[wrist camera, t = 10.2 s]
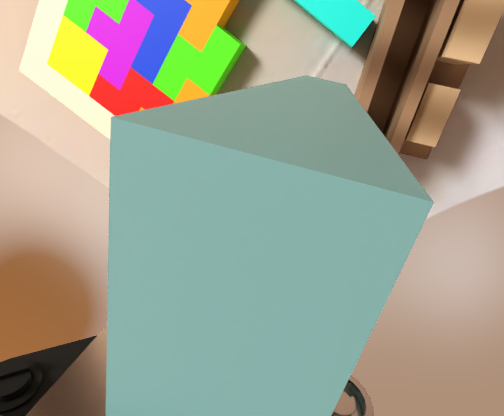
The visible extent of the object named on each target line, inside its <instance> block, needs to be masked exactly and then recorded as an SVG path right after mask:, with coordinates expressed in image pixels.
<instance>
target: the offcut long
mask: <svg viewBox="0 0 504 416" xmlns="http://www.w3.org/2000/svg"><path fill="white" fill-rule="evenodd" d="M503 11H504V0H460V2H459V4H458V7H457V9H456V12H455V14H454V17H453V19H452V22H451V24H450V27H449V29H448V32H447V34H446V37H445V39H444V42H443V44H442V47H441V49H440V52H439V54H438V57H437V59H436V61H440V62H444V63H449V64H454V65H458V64H480V62H481V60H482V58H483V55H484V53H485V51H486V49H487V47H488V44H489V42H490V40H491V38H492V36H493V33H494V31H495V29H496V27H497V25H498V22H499V20H500V18H501V16H502V14H503Z"/></svg>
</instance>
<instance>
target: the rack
mask: <svg viewBox="0 0 504 416" xmlns="http://www.w3.org/2000/svg"><path fill="white" fill-rule="evenodd" d="M459 2H460V0H385V1H384V4H383V7H382V10H381V14H380V17H379V20H378V23H377V26H376V29H375V33H374V36H373V39H372V42H371V45H370V48H369V52H368V55H367V58H366V61H365V64H364V67H363V70H362V74H361V77H360V80H359V83H358V86H357V89H356V93H355V97H356V99H357V100H358V101H359V103H360V104H361V105H362V107H363V108H364V109H365V111H366V112H367V113H368V115H369V116H370V117H371V119H372V120H373V121H374V123H375V124H376V125H377V127H378V128H379V129H380V131H381V132H382V133H383V135H384V136H385V138H386V139H387V140H388V142H389V143H390V144H391V146H392V147H393V148H394V150H395V151H396V152H397V154H399V153H403V154H407V155H412V156H416V157H420V158H424V159H427V158H428V156H429V154H430V152H431V149H432V146H428V145H423V144H419V143H415V142H411V141H407V140H405V137H406V134H407V132H408V129H409V127H410V124H411V122H412V119H413V117H414V114H415V112H416V109H417V107H418V104H419V102H420V99H421V97H422V94H423V92H424V89H425V87H426V84H427V83H432V84H437V85H441V86H446V87H451V88H455V89H458V88H459V86H460V84H461V82H462V79H463V77H464V75H465V72H466V70H467V68H468V66H469V64H458V65H454V64H449V63H444V62H440V61H436V59H437V57H438V54H439V52H440V49H441V47H442V44H443V42H444V39H445V37H446V34H447V32H448V29H449V27H450V24H451V22H452V19H453V17H454V14H455V12H456V9H457V7H458V4H459Z"/></svg>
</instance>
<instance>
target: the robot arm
mask: <svg viewBox="0 0 504 416" xmlns="http://www.w3.org/2000/svg"><path fill="white" fill-rule="evenodd" d="M106 364H107V325H106V327H105V328H104V329H103V330H102V331H101V332H100V333H99V334H98V335H97V336H93V337H90V338H86V339H82V340H78V341H75V342H71V343H67V344H63V345H60V346H56V347H52V348H48V349H45V350H41V351H37V352H33V353H30V354H26V355H22V356H18V357H15V358H11V359H8V360H5V361H3V362H0V416H106ZM331 416H374V410H373V405H372V402H371V398H370V396H369V395H368V393H367V391H366V389H365V388H364V387H363V386H362V385H361V384H360V382H359V381H358V380H357V379H355V378H354V377H352V376H350V378H349V380H348V382H347V384H346V386H345V388H344V390H343V392H342V394H341V396H340V399H339V401H338V403H337V405H336V407H335V409H334V411H333V413H332V415H331Z"/></svg>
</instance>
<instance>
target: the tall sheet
mask: <svg viewBox="0 0 504 416" xmlns="http://www.w3.org/2000/svg"><path fill="white" fill-rule="evenodd" d="M109 191H110V192H109V248H108V250H109V251H108V306H107V310H108V311H107V364H106V416H331V415H332V413H333V411H334V409H335V407H336V405H337V403H338V401H339V399H340V396H341V394H342V392H343V390H344V388H345V386H346V384H347V382H348V380H349V378H350V376H351V374H352V371H353V369H354V367H355V365H356V363H357V361H358V359H359V357H360V355H361V353H362V351H363V349H364V346H365V344H366V342H367V340H368V338H369V336H370V334H371V332H372V330H373V327H374V325H375V323H376V321H377V319H378V317H379V315H380V313H381V311H382V309H383V307H384V305H385V303H386V301H387V298H388V296H389V294H390V292H391V290H392V288H393V286H394V284H395V282H396V280H397V277H398V276H399V273H400V271H401V269H402V267H403V265H404V263H405V261H406V259H407V257H408V255H409V253H410V251H411V249H412V246H413V244H414V242H415V240H416V238H417V236H418V234H419V232H420V230H421V228H422V226H423V224H424V221H425V219H426V217H427V215H428V213H429V211H430V209H431V207H432V205H433V203H434V202H433V200H432V199H431V198H430V196H429V195H428V194H427V192H426V191H425V190H424V188H423V187H422V186H421V184H420V183H419V182H418V180H417V179H416V178H415V176H414V175H413V174H412V172H411V171H410V170H409V168H408V167H407V166H406V164H405V163H404V162H403V160H402V159H401V158H400V156H399V155H398V154H397V152H396V151H395V150H394V148H393V147H392V146H391V144H390V143H389V142H388V140H387V139H386V138H385V136H384V135H383V133H382V132H381V131H380V129H379V128H378V127H377V125H376V124H375V123H374V121H373V120H372V119H371V117H370V116H369V115H368V113H367V112H366V111H365V109H364V108H363V107H362V105H361V104H360V103H359V101H358V100H357V99H356V97H355V96H354V95H353V93H352V92H351V91H350V89H349V88H348V87H347V85H345V84H341V83H337V82H332V81H328V80H323V79H319V78H315V77H310V76H302V77H298V78H293V79H288V80H283V81H279V82H274V83H269V84H264V85H260V86H255V87H250V88H246V89H241V90H236V91H231V92H227V93H222V94H217V95H212V96H208V97H203V98H198V99H194V100H189V101H184V102H179V103H175V104H170V105H165V106H160V107H156V108H151V109H146V110H141V111H137V112H132V113H127V114H123V115H118V116H113V117H111V132H110V190H109Z"/></svg>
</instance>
